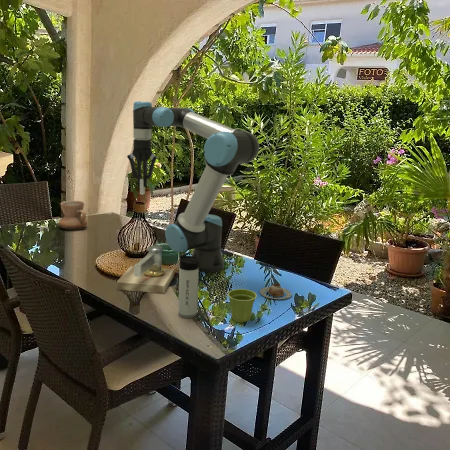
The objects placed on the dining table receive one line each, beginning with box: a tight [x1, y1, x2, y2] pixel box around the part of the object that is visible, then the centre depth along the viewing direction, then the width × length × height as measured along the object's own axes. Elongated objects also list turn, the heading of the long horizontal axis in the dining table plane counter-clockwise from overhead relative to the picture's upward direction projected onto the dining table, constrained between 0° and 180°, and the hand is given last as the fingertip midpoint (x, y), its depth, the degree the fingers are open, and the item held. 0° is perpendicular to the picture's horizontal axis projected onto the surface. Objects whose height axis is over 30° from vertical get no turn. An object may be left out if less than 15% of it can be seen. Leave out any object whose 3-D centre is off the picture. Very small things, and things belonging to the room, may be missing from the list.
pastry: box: [259, 282, 292, 300], centre depth 175 cm, size 12×12×5 cm
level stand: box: [116, 265, 175, 294], centre depth 180 cm, size 18×18×3 cm
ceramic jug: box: [58, 200, 88, 231], centre depth 250 cm, size 18×14×14 cm
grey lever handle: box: [133, 245, 165, 277], centre depth 174 cm, size 21×8×10 cm, turn 169°
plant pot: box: [227, 288, 258, 323], centre depth 152 cm, size 9×9×9 cm
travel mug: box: [177, 254, 200, 319], centre depth 153 cm, size 6×7×20 cm
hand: (142, 193), depth 201 cm, fingers closed
